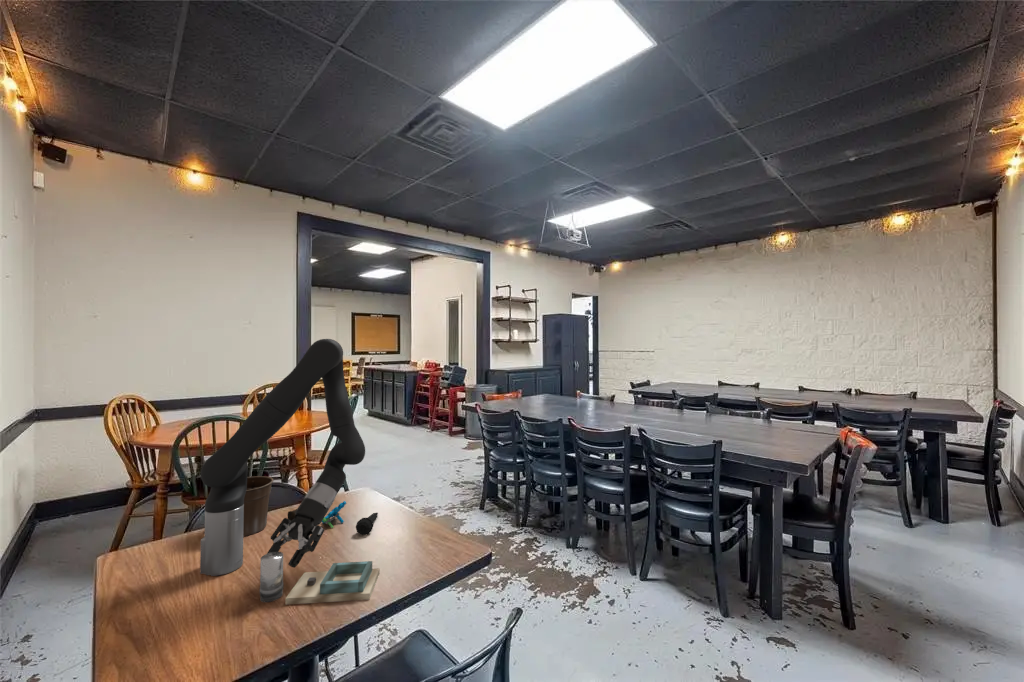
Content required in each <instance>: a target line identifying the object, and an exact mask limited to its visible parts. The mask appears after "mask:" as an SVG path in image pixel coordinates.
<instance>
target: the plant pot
mask: <svg viewBox="0 0 1024 682" xmlns="http://www.w3.org/2000/svg"><path fill="white" fill-rule="evenodd" d="M273 482H274V478H272V477H270V476H266V475H265V476H262V475H260V476H259V475H258V476H255V475H253V476H247V489H246V494H245V497H244V528H243V537H246V536H251V535H254V534H257V533H259V532H261V531H263V530H264V529H265V528H266V526H267V523H268V513H269V512H268V511H269V501H270V495H271V493H272V492H271V490H272V485H273Z"/></svg>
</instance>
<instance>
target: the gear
mask: <svg viewBox="0 0 1024 682" xmlns="http://www.w3.org/2000/svg"><path fill="white" fill-rule="evenodd" d="M346 504H347V501H346V500H343V502H340V503H339V504H338V506H335V507H334V508H333V509H332V510H330V511H328V512H327V513H326V515H325V517H324V518H323V520H322V522H321V524H323V525H324V524H326V525H328V526H329V527H330V528H331V529H333V528H334V526H333V524H332V521H333V520H334V519H337V520H338V521H339V522H340V523H341V524H343V523H344V522H345V520H344V519H343V518H342V517H341V516H340V513H339V512H340V511H341V510H342V509H343V508H345V507H346Z"/></svg>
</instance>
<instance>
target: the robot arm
mask: <svg viewBox="0 0 1024 682" xmlns="http://www.w3.org/2000/svg"><path fill="white" fill-rule="evenodd" d="M320 380H322V383H323V388H324V396H325V397H324V398H325V409H326V416H327V420H328V424H329V430H330V433H331V435H332V436H334V437H335V438H338V439H339V441H340V442H337V443H336V444H335V445H334V446H333V447H332V449H331V450H330V452H329V454H328V455H327V459H326V462H325V465H324V468H323V471H321V474H320V475H319V477H318V478H317V480H316V481H315V483H314V484H313V485H312V486H311V488H309V490H308V492H307V493H306V494H305V496H304V498H303V499H302V501H301V503H300V504H299V505H298V507H297V508H296V509H297V510H296V509H295V510H296V512H295V518H294V519H293V520H292V521H290V520H289V519H288V517H284V518H283V519H282V520H281V522H280V523H279V524H278V525H277V527H276V529H275V530H274V532H273V533H272V534H271V536H270V540H272V542H273V543H272V545H271V547H269V550H268V551H267V553H266V554H268V553H271V552H280V550H281V549H282V546H283V545H284V544H286V543H287V542H291V541H292V540H293V541H297V542H298V547H297V548H298V549H295V552H294V553H293V555H292V557H291V559H290V560H289V561H288V566H290V567H291V568H296V567H297V566H298V565H299V564H300V562H301V560H302V559H303V557H304V556H305V554H307V553H308V552H310V553H313V552H314V551H315V550H316V549H317V548H316V547H317V545H318V544H319V541H320V540H321V538H322V536H323V534H324V533H325V529H324V528H323V527H322V526H320V525H321V524H322V520H323V518H324V517H326V516H327V514H328V513H329V509H331V507H332V505H333V504H334V502H335V499H336V497H337V495H338V494H339V492H340V491H341V488H342V487H343V485H344V483H345V482H346V479H347V475H346V473H345V472H344V471H343V470H344V468H345V466H346V465H347V466H348V465H349V466H353V465H358V464H360V463H362V462H363V460H364V458H365V456H366V446H365V442H364V440H363V438H362V437H361V434H360V432H359V430H358V429H357V427H356V425H355V420H354V415H353V411H352V406H351V402H350V398H349V393H348V391H347V386H346V381H345V374H344V350H343V347H342V346H341V344H340V343H339V342H338V341H336V340H334V339H333V338H332V339H331V338H320V339H318V340H316V341H315V342H313V343H312V344H311V345H310V346H309V348H308V349H307V350H306V352H305V354H304V355H303V356H302V358H301V359H300V360H299V362H298V363H297V364H296V366H295V367H294V368H293V369H292V371H290V373H288V374H287V376H285V377H284V378H283V379H282V380H280V382H278V384H277V385H276V386H274V387H273V388H272V389H271V391H270V392H269V393H267V394H266V396H265V397H264V398H263V399H262V400H261V401H260V402H259V403H258V405H256V406H255V408H254V409H253V411H251V413H249V415H248V417H247V418H246V419H245V420H244V421H243V422H242V424H241V425H240V426H239V428H238V429H237V430H236V432H234V434H233V435H232V436H231V437H230V438H229V439H228V440H227V441H226V442H225V443H224V444H223V445H222V446H221V447H220V448H219V449H217V450H216V451H215V452H214V453H213V454H212V455H210V457H209V458H208V459H206V460H205V462H204V463H203V464H202V467H201V469H200V479H201V482H202V483H203V484H204V485H205V486H207V487H209V488H210V491H209V493H208V495H207V497H206V500H205V501H204V502H205V503H204V536H203V537H202V538H201V539H200V551H199V552H200V558H199V565H200V566H199V567H200V568H199V574H200V575H201V574H204V575H205V576H208V575H211V577H213V576H215V577H216V576H223V575H226V574H229V573H232V572H234V571H236V570H238V569H240V567H242V566H243V564H244V536H243V528H244V497H245V494H246V489H247V477H248V471H249V470H248V468H249V466H248V463H249V462H248V460H249V459H250V458H251V456H253V454H254V453H255V452H256V451H257V450H258V449H259V448H260V447H261V446H262V445H264V444H265V443H267V441H268V440H270V439H272V437H273V436H275V434H276V433H277V432H279V431H280V429H282V428H283V426H285V425H286V424H287V423H288V422H289V420H290V419H291V418H292V417H293V416H294V415H295V414H296V412H297V411H298V409H299V408H300V407H301V405H302V404H303V403H304V401H305V399H306V398H307V396H308V394H309V393H310V391H311V390H312V388H314V387H315V385H316V384H317V383H318V382H319V381H320ZM332 503H333V504H332Z"/></svg>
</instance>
